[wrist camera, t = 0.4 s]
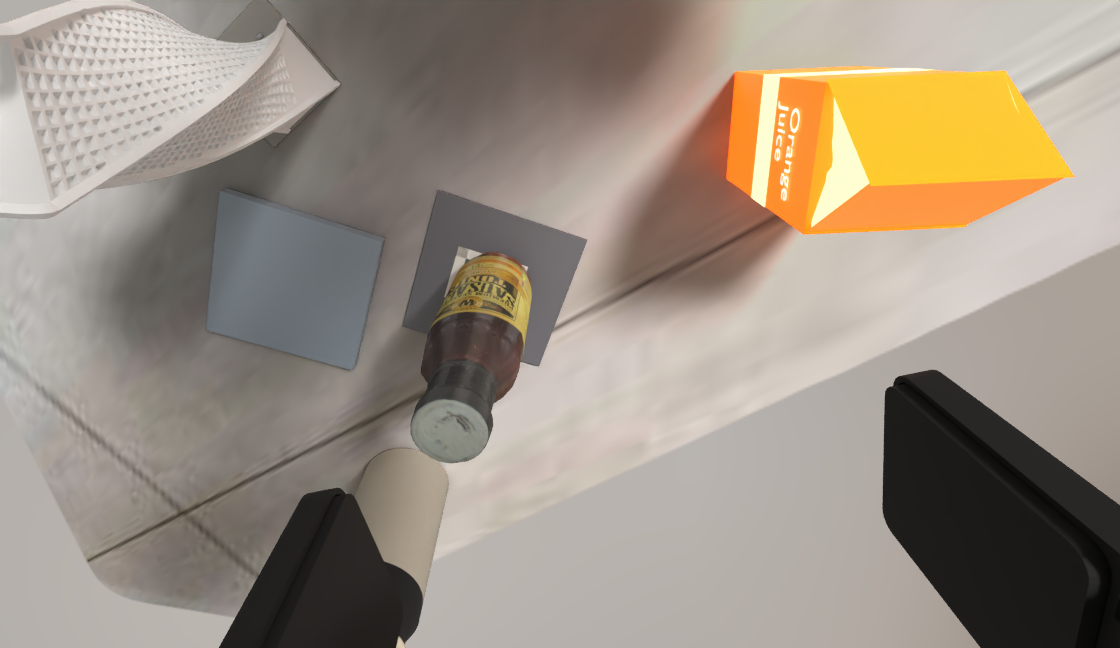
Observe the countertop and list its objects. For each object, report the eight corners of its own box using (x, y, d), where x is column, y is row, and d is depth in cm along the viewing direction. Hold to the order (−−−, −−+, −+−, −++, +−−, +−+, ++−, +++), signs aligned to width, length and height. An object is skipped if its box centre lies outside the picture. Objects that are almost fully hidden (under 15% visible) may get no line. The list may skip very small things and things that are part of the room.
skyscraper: (277, -23, 38) (-264, -168, 12) (368, 83, 41) (78, 139, 15) (196, 64, 40) (-409, 91, 15) (288, 159, 43) (-85, 319, 17)
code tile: (438, 189, 44) (437, 190, 43) (586, 239, 46) (587, 240, 45) (403, 325, 48) (402, 326, 48) (538, 365, 50) (538, 366, 50)
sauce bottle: (527, 244, 45) (516, 371, 27) (536, 315, 48) (531, 474, 30) (445, 252, 45) (379, 384, 27) (458, 323, 48) (407, 486, 30)
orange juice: (840, 175, 44) (1047, 263, 26) (724, 180, 44) (850, 273, 26) (859, 62, 40) (1112, 73, 22) (734, 68, 40) (886, 84, 22)
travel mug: (348, 466, 55) (265, 643, 38) (418, 432, 53) (363, 602, 37) (397, 521, 58) (339, 706, 41) (464, 491, 56) (432, 671, 40)
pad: (226, 187, 43) (219, 190, 42) (385, 238, 45) (381, 241, 44) (212, 324, 48) (205, 330, 47) (356, 364, 50) (352, 370, 49)
